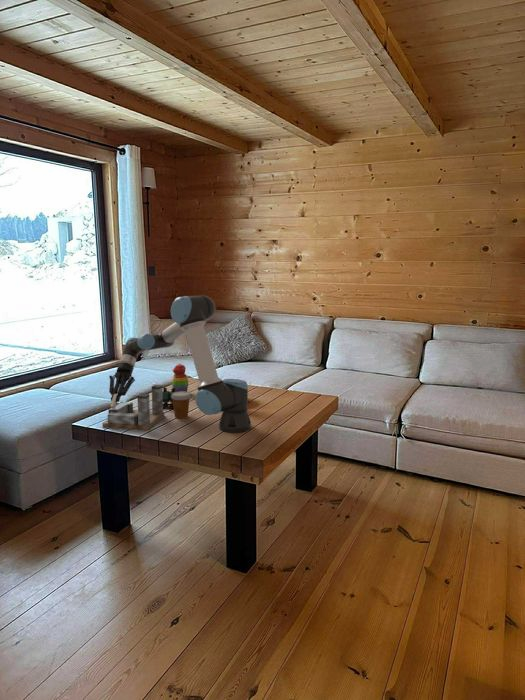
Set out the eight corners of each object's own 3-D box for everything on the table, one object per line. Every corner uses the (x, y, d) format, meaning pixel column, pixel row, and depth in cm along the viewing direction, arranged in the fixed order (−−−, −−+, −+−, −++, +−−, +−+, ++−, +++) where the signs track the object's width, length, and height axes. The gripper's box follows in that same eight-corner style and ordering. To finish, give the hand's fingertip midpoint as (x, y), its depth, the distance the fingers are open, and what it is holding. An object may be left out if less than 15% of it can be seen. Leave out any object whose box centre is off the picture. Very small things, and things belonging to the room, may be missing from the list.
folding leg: (129, 403, 243) (116, 410, 229) (129, 411, 244) (116, 418, 230) (121, 402, 244) (108, 409, 230) (121, 410, 244) (108, 417, 230)
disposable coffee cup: (194, 416, 243) (194, 393, 241) (178, 421, 236) (178, 397, 234) (183, 412, 250) (183, 390, 247) (167, 416, 243) (167, 393, 241)
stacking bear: (171, 391, 288) (170, 362, 285) (188, 391, 290) (187, 362, 286) (171, 396, 277) (170, 366, 274) (188, 396, 279) (188, 366, 276)
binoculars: (156, 392, 250) (162, 385, 260) (157, 411, 253) (163, 404, 263) (173, 393, 249) (178, 386, 259) (174, 412, 252) (179, 404, 262)
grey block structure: (164, 415, 244) (163, 384, 241) (147, 430, 223) (146, 396, 220) (122, 412, 247) (120, 382, 244) (101, 427, 226) (99, 393, 223)
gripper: (141, 370, 245) (128, 411, 232) (116, 368, 247) (102, 410, 234) (136, 362, 239) (122, 404, 226) (111, 360, 241) (96, 402, 228)
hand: (112, 407), depth 230 cm, fingers closed
